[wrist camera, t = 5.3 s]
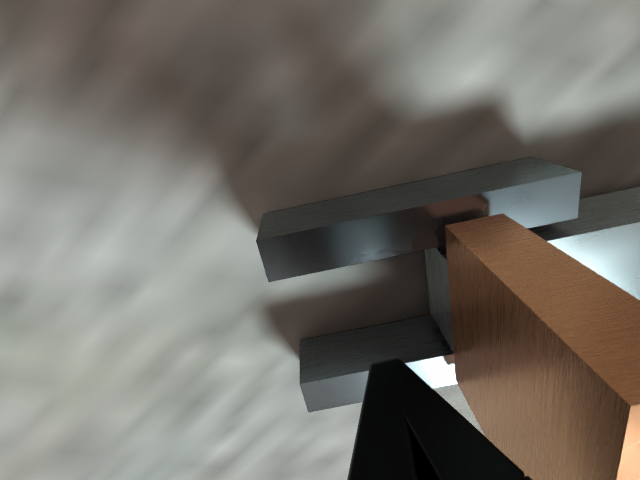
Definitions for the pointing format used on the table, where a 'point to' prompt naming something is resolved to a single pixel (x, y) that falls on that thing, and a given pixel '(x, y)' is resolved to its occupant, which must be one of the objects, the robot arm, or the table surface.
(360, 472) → the robot arm
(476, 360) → the brown boxy piece
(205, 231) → the table surface
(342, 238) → the ram guide
